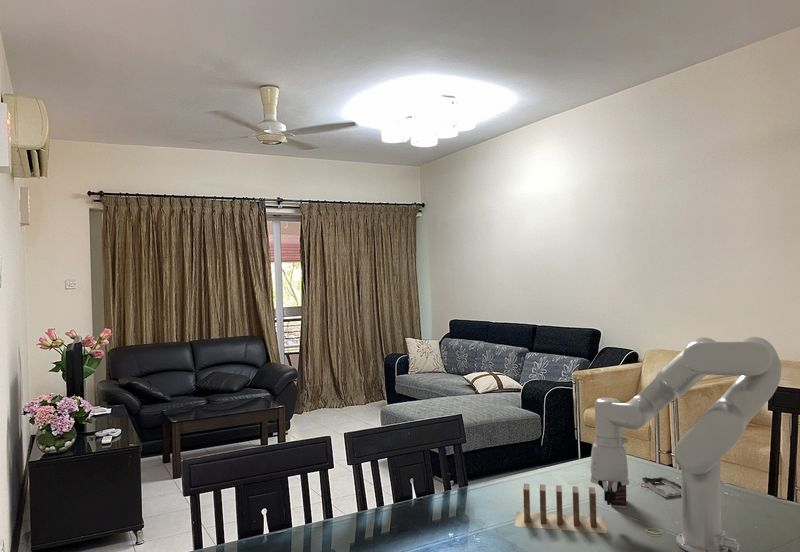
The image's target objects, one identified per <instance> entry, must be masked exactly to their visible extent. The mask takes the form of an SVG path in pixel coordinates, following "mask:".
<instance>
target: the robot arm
mask: <svg viewBox="0 0 800 552" xmlns="http://www.w3.org/2000/svg"><path fill="white" fill-rule="evenodd" d="M656 374H657V375H656V376H655V378H654V379H653V380H651V382H650V383H648V385H646V386H645V387H644V388H643V389H642V390H641V391H640V392H639V393H637V394H636V395H635V396H633V398H631V399H630V400H629V401H627V402H621V401H620V400H619V399H617V398H614V397H599V398H597V399H596V400H595V402H594V427H595V428H594V435H595V438H594V439H595V442H594V443H592V445H591V454H590V474H591V476H590V478H589V479H590V480H589V481H590V483H592V484H595V485H599V486H600V488H601V489H602V490H603V492H604V493H603V495H604V496H603V497H604V501H605V502H606V505H607V506H611V505H613V502H615V492H616V491H617V489H618V488H619V487H621V486H624V485H626V486H628V485H630V482H629V466H628V465H629V464H628V456H627V449H626V445H625V444H627V443H629V439H628V437H624V436H623V428H624V429H627V430H632V431H633V430H634V431H637V430H640V429H643V428H644V427H645V426H646V425H647V424H648V423H649V422H650V421H651V420H652V419H653V418H654V417H655V416H657V415H658V414H659V413H660V412H662V410H664V409H665V408H667V406H668V405H669V404H671V403H672V402H673V401H674V400H676V399H678V398H681V397H682V396H684V395H685V394H686V393H688V391H689V390H690V389H692V388H693V387H694V386H695V385H696V384H698V383H699V382H700V381H701V380H703V378H705V377H706V376H707V375H708V376H709V375H711V376H713V375H714V376H738V377H737V378H736V380H735V381H734V382H733V383H732V385H731V386H730V387H729V388H728V389H727V390H726V391H725V393H724V394H722V395H721V397H720V398H718V399H717V400H716V401H715V402H714V403H713V404H711V405H710V406H709V407H708V408H707V409H706V411H705V412H704V413H703V415H702V416H701V417H700V418H699V419H698V420H697V421H696V422H695V424H694V425H693V426H692V427H691V428H690V429H687V431H685V432H684V433H683V434H682V436H681V437H680V439H679V440H678V441H677V443H676V445H675V447H674V450H673V455H674V460H675V462H676V464H677V465H678V467H679V468H680V485H681V491H680V493H681V496H680V497H681V524H682V525H681V526H682V528H681V531H682V532H681V533H679V534H678V535H677V536H676V541H675V542H676V545H677V546H679V547H680V548H681V549H683V550H684V551H686V552H729V549H730V550H733V551H737V552H738V551H739V550H740V544H739V542H737V541H738V540H737V539H735V538H729V537H728V536H727V535H726V531H725V530H723V529H722V503H721V499H722V498H721V491H722V489H721V465H722V463H721V461H722V458H723V457H725V455H727V453H728V452H729V451H730V450H732V448H733V447H734V446H735V445H736V444H737V443H738V442H739V440H740V439H741V438H742V437H743V435H744V432H745V430H746V428H747V426H748V424H749V423H750V421H752V420H753V418H754V417H755V416H756V415H757V414H758V413H759V412H760V411H761V410H762V408H763V407H764V406H765V405H766V404H767V402H768V401H770V400H771V398H772V397H773V395H774V393H775V392H776V391H777V390H778V389H777V388H778V387H779V384H780V381H781V377H782V376H781V375H782V364H781V360H780V356H779V354H778V352H777V350H776V349H775V347H774V346H773V344H771V342H769V341H768V340H767V339H765V338H762V337H759V336H751V337H747V338H745V339H743V340H742V341H716V340H714V339H712V338H709V337H698V338H696V339H694V340H693V341H691V342H690V343H688V345H687V346H686V347H685V348H684V349H683V350H681V351H680V352H679V353H678V354H677V355H676V356H675V357H674V358H672V360H670V361H669V362H668V363H667V364H666V365H665V366H664V367H662V368H661V369H660V370H659V371H658V373H656ZM608 481H612V485H611V487H610V491H609V487H608Z"/></svg>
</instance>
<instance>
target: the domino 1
mask: <svg viewBox="0 0 800 552" xmlns="http://www.w3.org/2000/svg"><path fill="white" fill-rule="evenodd" d="M530 495H531V494H530V483H523V512H524V523H530V513H531V501H530Z"/></svg>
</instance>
